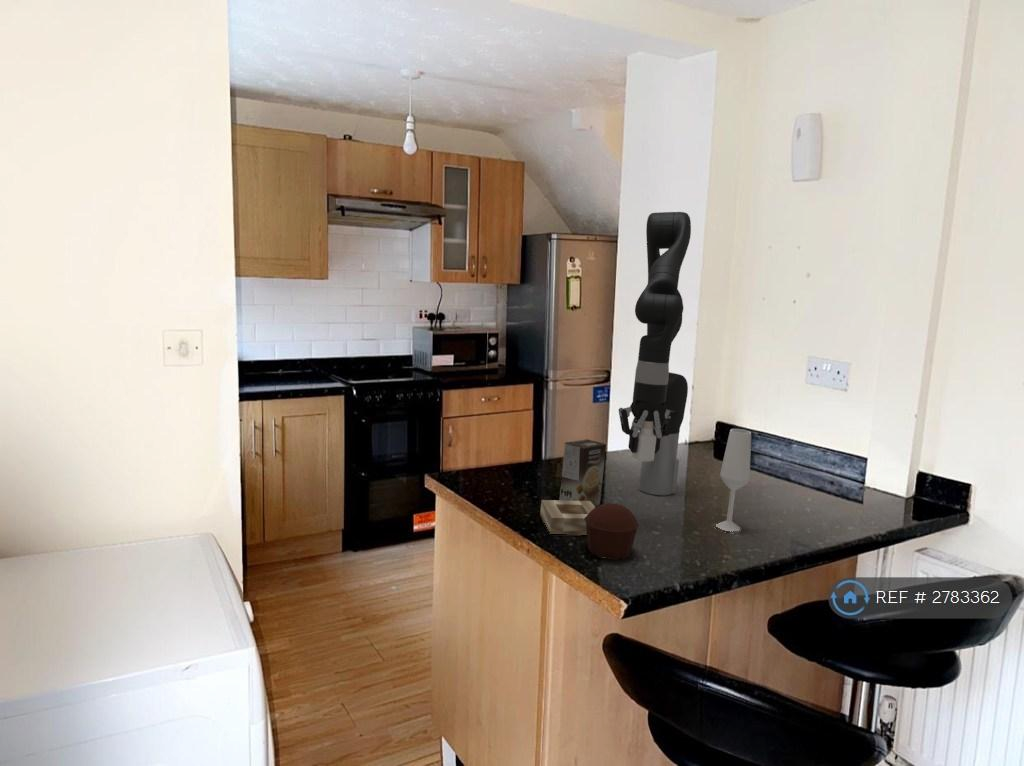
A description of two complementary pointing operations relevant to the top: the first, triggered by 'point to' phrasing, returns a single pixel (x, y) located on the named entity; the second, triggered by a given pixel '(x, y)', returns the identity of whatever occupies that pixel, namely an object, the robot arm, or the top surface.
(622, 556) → the muffin
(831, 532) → the top surface
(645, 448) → the pepper shaker
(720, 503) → the top surface
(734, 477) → the champagne flute
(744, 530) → the top surface
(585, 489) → the coffee box
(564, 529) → the birch holder
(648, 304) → the robot arm
